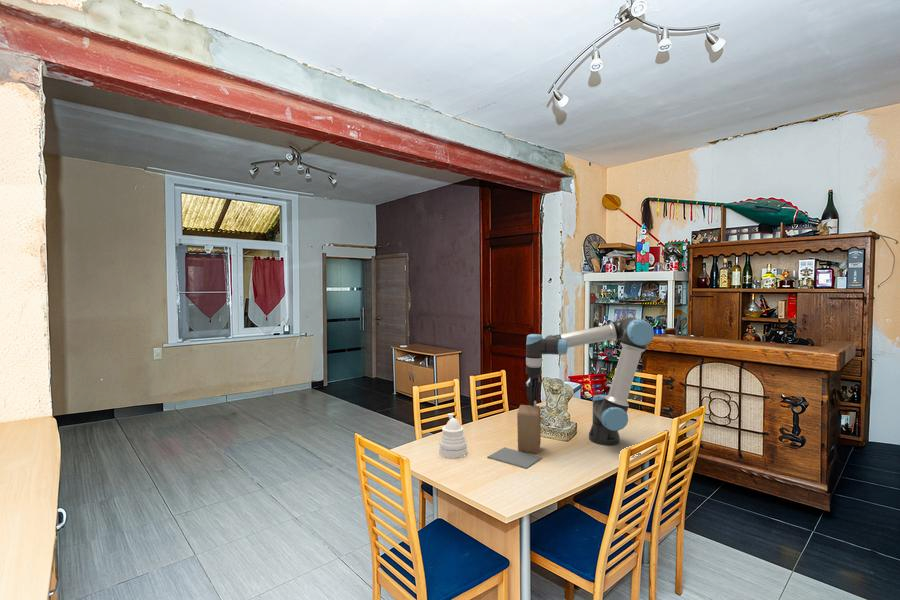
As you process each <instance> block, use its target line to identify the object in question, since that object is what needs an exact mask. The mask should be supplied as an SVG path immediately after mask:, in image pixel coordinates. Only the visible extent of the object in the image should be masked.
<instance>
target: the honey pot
mask: <svg viewBox="0 0 900 600" xmlns="http://www.w3.org/2000/svg"><path fill="white" fill-rule="evenodd" d="M447 417H448V418H449V420H448V421H447V423H446V424H445V425H444V426H442V428H441V431H442V434H441V437H440V441H439V455H440V454H441V455H442V457H443V456H444V458H446V457H449V458H448V459H458V458H457V457H460V458H463V457H465V456H466V455H468V450H467V448H468V444H467V443H468V442H467V440H466V436H465V433H464V432H463V431H464V428H463V426H461V424H460V422H459V420H458V419H457V418H455V417H454V413H447ZM441 455H440V456H441ZM464 455H465V456H464ZM462 456H463V457H462Z"/></svg>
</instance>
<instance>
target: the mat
mask: <svg viewBox="0 0 900 600" xmlns="http://www.w3.org/2000/svg"><path fill="white" fill-rule="evenodd" d="M487 459H490V460H494V461H496V462H497V461H498V462H500V463H504V464H508V465H511V466H514V467H519V468H522V469H525V470H527V469H529V468H530V467H532V466H534V464H536V463H537V461H538V462H539V461H540V459H541V460H542V459H543V456H540V455H535V454H533V453H529V452H521V451H518V449H517V450H516V449H512V448H508V447H502V448H500V449H499V450H497V451H495V452H493V453H492V454H489V455H488V456H487Z"/></svg>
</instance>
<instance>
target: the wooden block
mask: <svg viewBox="0 0 900 600" xmlns="http://www.w3.org/2000/svg"><path fill="white" fill-rule="evenodd" d="M516 414H517V415H516V416H517V417H516V418H517V422H516V423H517V427H516V428H517V451H521V452H525V453H529V454H538V453H540V448H541V441H542V439H541V437H542V436H541V430H542V427H541V424H542V423H541V407H540V405H536V406H531V405H530V404H519V407H518V410H517V413H516Z"/></svg>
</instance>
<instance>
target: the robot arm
mask: <svg viewBox="0 0 900 600" xmlns="http://www.w3.org/2000/svg"><path fill="white" fill-rule="evenodd" d="M654 333H655V331H654V328H653V326H652V325H651V324H650V322H648V321H646V320H645V319H641V318H636V317H627V318H623V319H619V320H616V321H610V322H609V323H608V324H606V325H602V326H596V327H591V328H586V329H585V328H584V329H581V330H575V331H570V332H565V333H560V334H553V335H547V336H545V337H544V338H543V335H542V334H538V333H537V334H536V333H530V334H528V335H526V342H525V343H526V344H525V347H526V349H525V350H526V351H525V355H526V357H525V365H526V366H525V374H526V375H528V377H527V381H525V382H524V384H525V389H526V390H525V391H526V399H527V401H529V405H531V406H537V402H538V401H539V397H540V391H541V383H542V378H540V376H541V375H542V373H543V372H542V371H543V369H542V368H543V367H542V365H543V357H542V356H543V355H556V356H561V355H563V356H565V355H567V353H568V351H569V350H568V349H569V348H575V347H579V346H585V345H589V344H595V343H600V342H606V341H611V340H612V341H614V342H616V341H620V342H619V343H620V345H621V350H620V354H619V358H618V362H617V365H616V367H615V372H614V374H613V378H612V381H611V384H610V385H611V386H610V388H609V392H608V394H594V395H593V397H592V424H591V427H590V430H589V432H588V439H589V441H590V442H592V443H595V444H599V445H604V446H615V445H618V444H620V442H621V436H620V432H619V431H621V430H623V429H625V427H626V426H627V424H628V423H629V415H628V410H629V407H630V405H629V402H628V399H629V395H630V392H631V387H632V384H633V381H634V378H635V375H636V373H637V372H636V371H637V369H638V364H639V363H640V362H639V361H640V358H641V356H642V355H641V354H642V353H643V352H645V351H646V350H647V347H648V344H649V343H651V342H652V340H653V339H654V336H655V335H654Z"/></svg>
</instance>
